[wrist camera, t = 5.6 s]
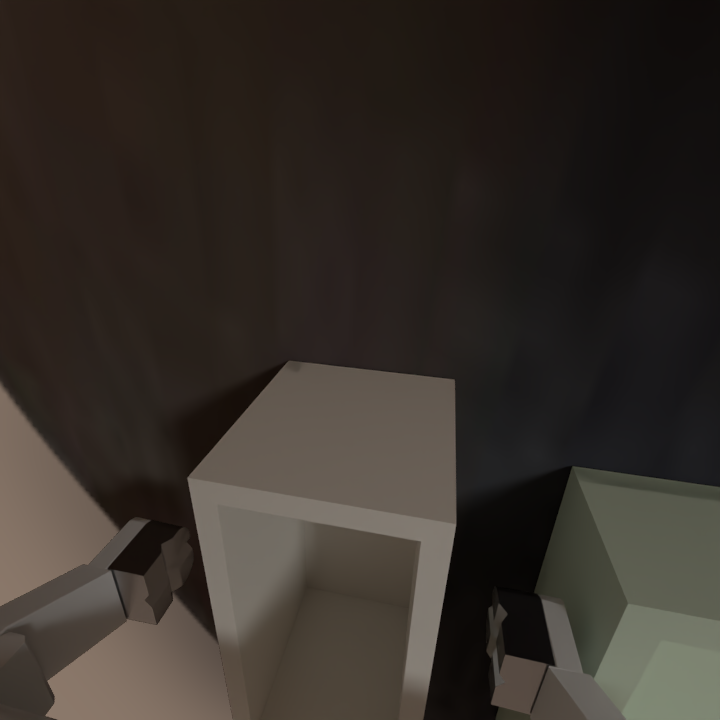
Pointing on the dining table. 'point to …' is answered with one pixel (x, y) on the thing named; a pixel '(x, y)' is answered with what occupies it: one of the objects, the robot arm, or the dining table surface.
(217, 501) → the small tote
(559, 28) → the dining table surface
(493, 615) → the robot arm
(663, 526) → the box
